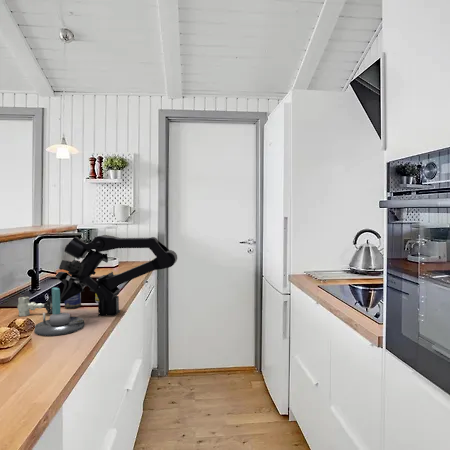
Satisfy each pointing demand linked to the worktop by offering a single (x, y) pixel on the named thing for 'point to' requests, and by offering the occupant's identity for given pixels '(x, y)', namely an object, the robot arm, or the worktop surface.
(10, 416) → the worktop surface
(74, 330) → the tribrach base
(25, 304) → the valve
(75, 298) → the pill bottle
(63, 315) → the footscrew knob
